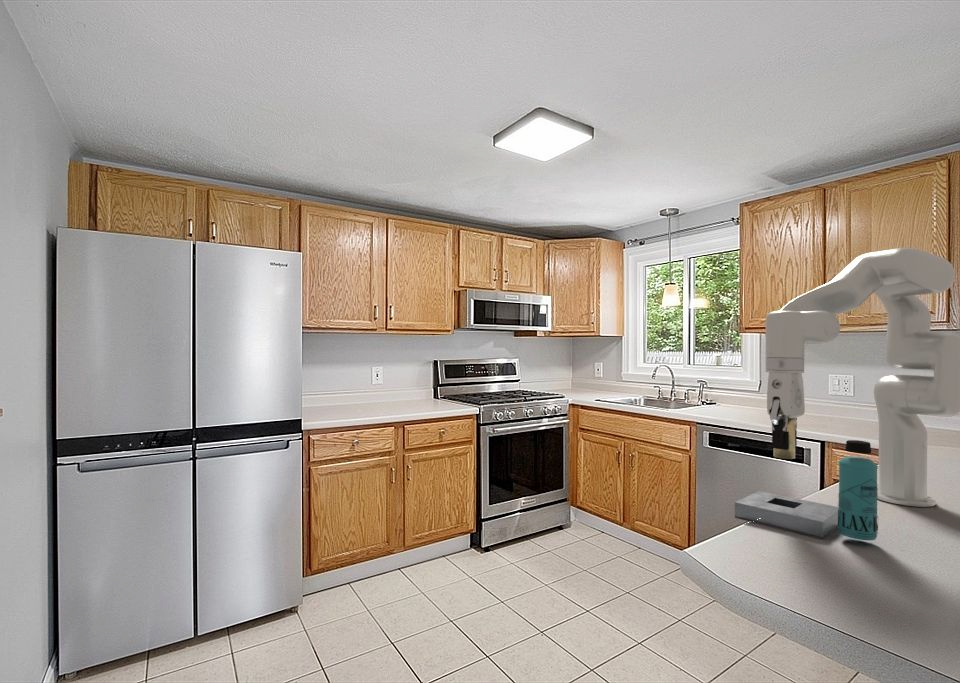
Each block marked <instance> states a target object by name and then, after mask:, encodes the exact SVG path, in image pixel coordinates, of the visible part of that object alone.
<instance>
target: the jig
mask: <svg viewBox="0 0 960 683" xmlns="http://www.w3.org/2000/svg"><path fill="white" fill-rule="evenodd" d="M838 509H839V507H838V506H835V505H832V504H826V503H821V502H815V501H811V500H806V499H801V498H795V497H792V496H786V495H779V494H775V493H771V492H766V491H760V490H758V491H755V492H754V493H751V494H749V495H747V496H745V497H744V498H740V499H737V501H734V519H738V520H742V521H746V522H750V523H753V524H754V523H755V524H758V525H763V526H766V527H770V528H775V529H778V530H783V531H786V530H787V532H790V531H791V532H790V533H794V532H795V533H794V534H798V533H799V535H802V534H803V536H807V535H808V537H811V536H812V538H815V539H820V540H824V539H825V538H827V537H828V536H829V535H831V534H832V533H833V532H834V531H835V530H836V528H837V529H838V523H837V522H838V516H837V515H838V513H837V511H838ZM759 518H761V519H759ZM757 519H758V520H757ZM753 521H754V522H753ZM831 532H832V533H831Z"/></svg>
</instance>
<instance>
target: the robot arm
mask: <svg viewBox="0 0 960 683" xmlns="http://www.w3.org/2000/svg"><path fill="white" fill-rule="evenodd" d="M954 268H955V267H954V266H953V265H952V263H951V262H950V261H949V260H948V259H946V258H944V257H942V256H939V255H936V254H933V253H930V252H927V251H926V250H925V251H924V250H920V249H917V248H912V247H895V248H891V249H885V250H879V251H878V250H877V251H872V252H871V251H870V252H866V253H864V254H861V255H858V256H857V257H855V258H854V259H853V260H852V261H851V262H850V263H848V265H846V266H845V267H844V268H843V269H842V270H841V271H840V272H839V273H838V274H836V276H835V277H833V278H832V279H831V280H830V281H829V282H827V283H825V284H823V285H820V286H818V287H816V288H814V289H812V290H810V291H808V292H805V293H803V294H801V295H799V296H797V297H796V298H793V299H792V300H790V301H789V302H788V303H786V304H785V305H784V306H783V307H781V308H780V310H775V311H771V312H769V313H767V315H766V316H765V373H768V378H767V387H766V388H767V391H766V411H767V415H769V419H770V421H771V447H772V448H776V449H783V450H788V449H789V432H787V425H788V417H789V418H795V448H796V447H797V440H798V438H797V435H798V434H797V432H798V430H797V427H798V422H797V421H798V418H799V417H802V416H804V414H805V412H806V410H805V407H806V406H805V389H804V380H803V378H804V377H803V374H805V345H822V344H827V343H830V342H832V341H834V340H835V339H836V338H837V337H838V336H839V334H840V331H841V323H840V320H839V319H838V317H837V315H841V314H844V313H847V312H851V311H853V310H855V309H858V308H859V307H861V306H862V305H863V304H864V303H865V302H866V301H867V300H868V299H869V298H870V297H871V296H872V295H873V294H874V295H876V296H877V298H878V299H879V300H880V302H881V304H882V305H883V306H884V309H885V310H886V314H887V326H886V339H885V351H884V353H885V354H884V356H885V362H886V363H887V365H888V366H889V367H891V368H892V369H896V370H905V371H906V370H907V371H926V372H927V371H929V372H930V371H931V372H933V376H930V375H927V376H926V375H915V374H890V375H885V376H883V377H881V378H879V379H877V381H876V382H875V384H874V386H873V398H874V402H875V405H876V411H877V416H878V417H877V418H878V419H877V420H878V490H877V497H878V498H877V500H879V501H883V502H886V503H890V504H893V505H894V504H896V505H900V506H905V507H906V506H907V507H916V508H917V507H918V508H929V507H934V506H935V505H937V503H936V499H935V498H934V497H932V496H929V495H928V431H927V429H926V426H925V424H924V423H923V421H922V420H921V419H920V417H919V416H918V415H921V416H928V417H929V416H930V417H939V418H940V417H943V418H952V417H955V416H957V415H958V414H960V335H959V334H957V333H954V332H949V331H931V321H932V320H931V319H932V314H931V311H930V308H929V307H928V306H927V305H926V304H925V303H924V301H923V300H921V298H919V297H918V296H919V295H920V296H921V295H933V294H941V293H944V292H945V291H948V290H949V289H950V288H951V287H952V285H953V284H954V282H955V280H956V272H955V269H954ZM781 416H784V417H781ZM782 420H783V422H782Z"/></svg>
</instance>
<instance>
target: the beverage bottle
mask: <svg viewBox="0 0 960 683" xmlns="http://www.w3.org/2000/svg"><path fill="white" fill-rule="evenodd" d="M844 448H845V450H844V451H845V452H850V453H854V454H855V453H856V454H862V455H863V454H872V448H871V442H870V441H866V440H865V441H864V440H856V439H854V440H853V439H852V440H851V439H850V440H846V441H845V447H844ZM878 470H879V465H878V464H876V463H875V462H874V461H873V460H872V459H871V458H868V457H863V456H850V455H849V456H845V457H843V458H841V459H840V460H838V494H837V496H838V501H837V503H838V504H837V507H839V509H838V511H837V513H838V515H837V516H838V522H837V523H838V528H837V530H838V533H839V534H841V535H842V536H845V537H847V538H850V539H854V540H860V541H874V540H876V539H877V538H878V532H879V531H878V530H879V524H878V518H879V515H878V499H877V498H878V497H877V490H878V489H879V487H878V486H879V483H878Z"/></svg>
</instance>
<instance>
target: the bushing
mask: <svg viewBox="0 0 960 683" xmlns="http://www.w3.org/2000/svg"><path fill="white" fill-rule="evenodd" d="M780 416H781V415H780ZM781 417H784V416H781ZM782 422H783V420H782ZM787 432H789V449H788V450H783V449H776V448H773V447H772V448H773V452H772V453H773V457H774V458H778V459H783V460H793V459H796V447H795V418H789V417H788V425H787Z"/></svg>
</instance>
